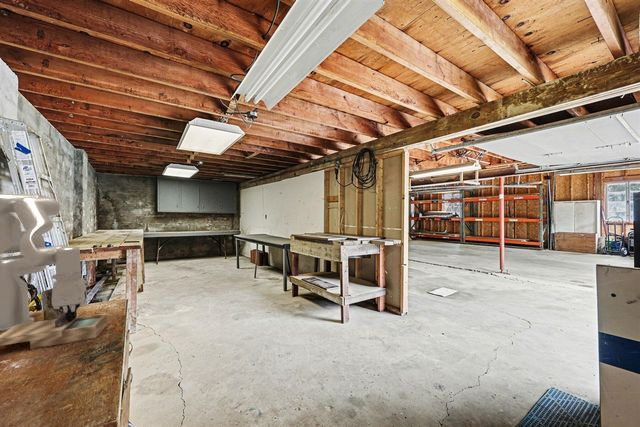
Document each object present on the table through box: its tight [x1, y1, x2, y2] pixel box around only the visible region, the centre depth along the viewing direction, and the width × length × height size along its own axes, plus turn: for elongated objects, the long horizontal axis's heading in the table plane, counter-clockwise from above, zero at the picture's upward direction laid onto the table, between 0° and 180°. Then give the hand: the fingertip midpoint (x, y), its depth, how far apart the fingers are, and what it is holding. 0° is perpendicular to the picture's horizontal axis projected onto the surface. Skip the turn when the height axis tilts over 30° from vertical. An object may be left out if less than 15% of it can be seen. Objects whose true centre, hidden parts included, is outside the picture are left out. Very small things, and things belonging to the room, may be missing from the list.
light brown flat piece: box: [0, 314, 80, 346], centre depth 109 cm, size 20×16×5 cm
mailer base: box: [29, 313, 109, 350], centre depth 113 cm, size 20×14×5 cm
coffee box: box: [41, 287, 72, 321], centre depth 125 cm, size 9×6×16 cm
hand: (71, 320), depth 113 cm, fingers closed
